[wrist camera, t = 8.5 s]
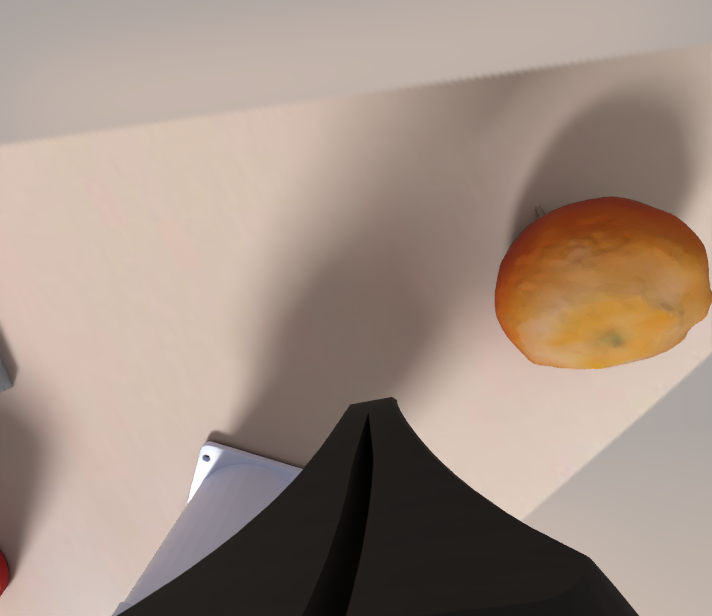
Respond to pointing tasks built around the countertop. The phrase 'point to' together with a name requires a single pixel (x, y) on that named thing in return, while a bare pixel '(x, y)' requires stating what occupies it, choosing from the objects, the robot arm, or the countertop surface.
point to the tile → (4, 378)
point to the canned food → (3, 573)
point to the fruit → (602, 284)
